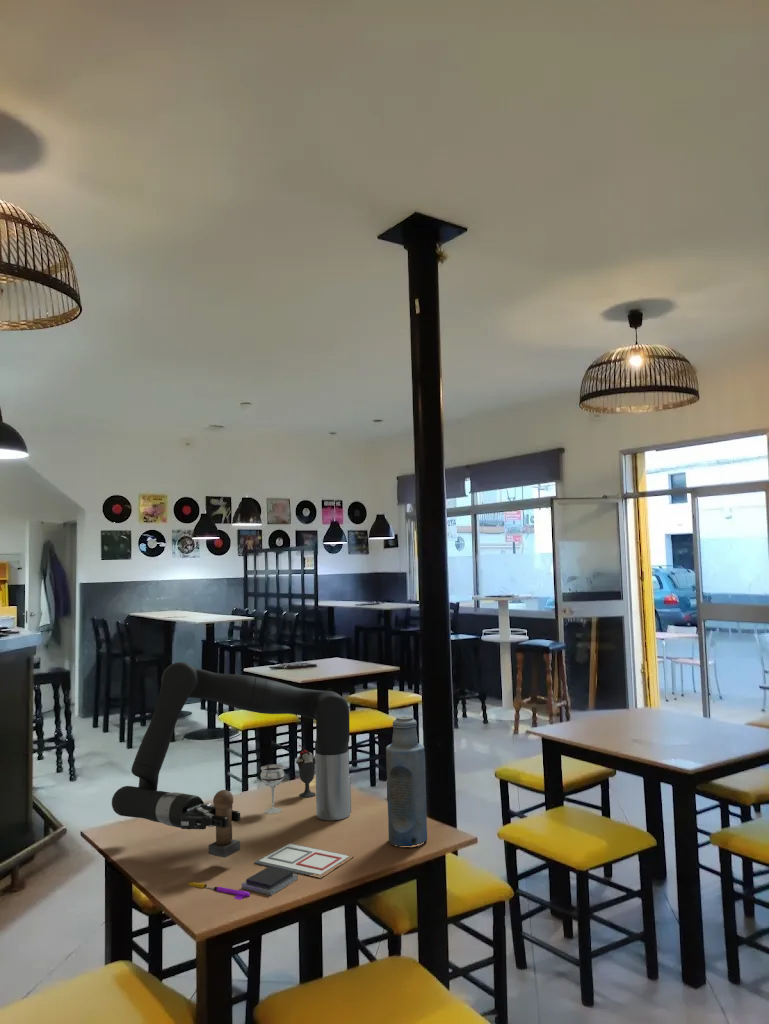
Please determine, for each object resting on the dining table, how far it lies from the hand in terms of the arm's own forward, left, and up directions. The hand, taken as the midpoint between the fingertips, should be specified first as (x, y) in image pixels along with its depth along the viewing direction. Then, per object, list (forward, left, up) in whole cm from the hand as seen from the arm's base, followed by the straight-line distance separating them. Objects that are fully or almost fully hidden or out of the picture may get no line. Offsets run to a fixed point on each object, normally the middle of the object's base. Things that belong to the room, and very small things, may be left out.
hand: (232, 819), depth 163 cm
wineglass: (-36, -18, -11) cm, 42 cm away
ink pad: (+3, +13, -11) cm, 17 cm away
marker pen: (+11, +5, -11) cm, 17 cm away
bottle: (-32, +28, -11) cm, 44 cm away
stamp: (0, -3, -8) cm, 8 cm away
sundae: (-52, -18, -11) cm, 56 cm away
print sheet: (-11, +12, -11) cm, 19 cm away
